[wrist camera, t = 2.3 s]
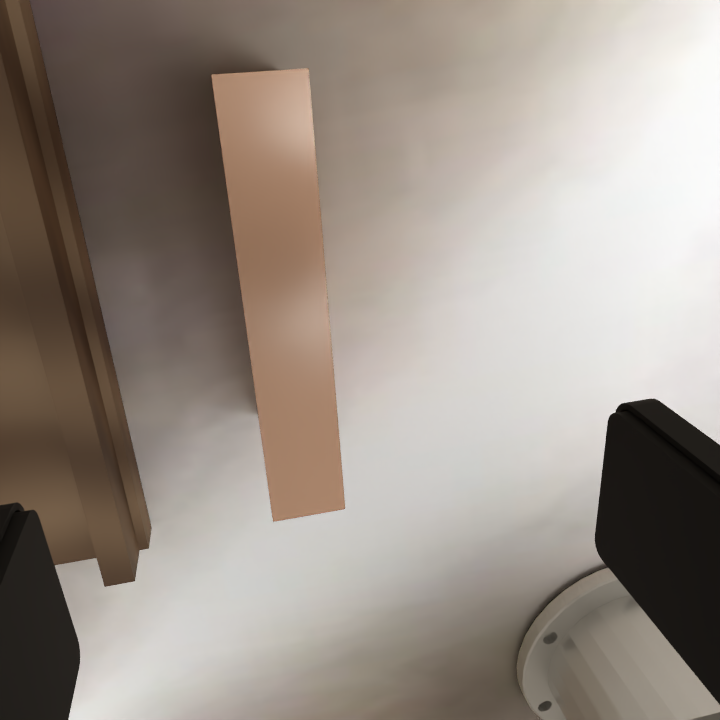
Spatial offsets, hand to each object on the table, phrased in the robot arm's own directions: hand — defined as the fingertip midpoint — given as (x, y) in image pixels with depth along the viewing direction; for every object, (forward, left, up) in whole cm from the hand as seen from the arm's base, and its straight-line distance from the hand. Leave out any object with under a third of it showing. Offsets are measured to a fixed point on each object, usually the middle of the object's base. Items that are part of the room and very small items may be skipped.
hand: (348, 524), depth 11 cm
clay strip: (0, 0, -18) cm, 18 cm away
